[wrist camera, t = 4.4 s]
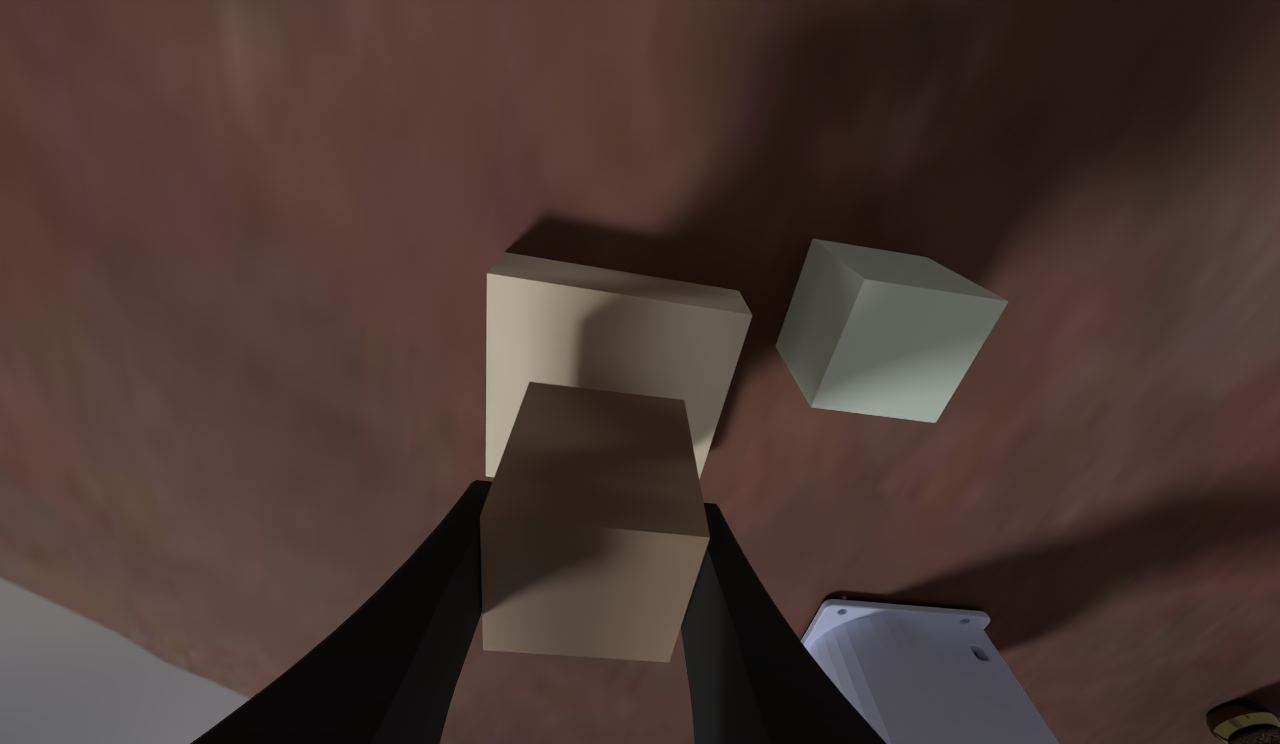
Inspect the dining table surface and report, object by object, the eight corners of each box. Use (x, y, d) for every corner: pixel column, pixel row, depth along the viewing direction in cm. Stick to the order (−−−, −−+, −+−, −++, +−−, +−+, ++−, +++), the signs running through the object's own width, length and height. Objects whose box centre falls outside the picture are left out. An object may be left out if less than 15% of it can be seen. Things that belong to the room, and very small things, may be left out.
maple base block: (736, 286, 16) (752, 315, 14) (686, 457, 20) (692, 499, 18) (507, 248, 16) (487, 273, 13) (501, 434, 20) (485, 476, 17)
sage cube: (925, 256, 16) (1008, 301, 12) (875, 359, 18) (935, 422, 14) (811, 237, 15) (864, 279, 12) (775, 345, 17) (810, 407, 14)
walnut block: (684, 400, 14) (709, 537, 9) (658, 509, 16) (668, 662, 11) (529, 381, 13) (480, 516, 9) (525, 496, 15) (483, 650, 11)
